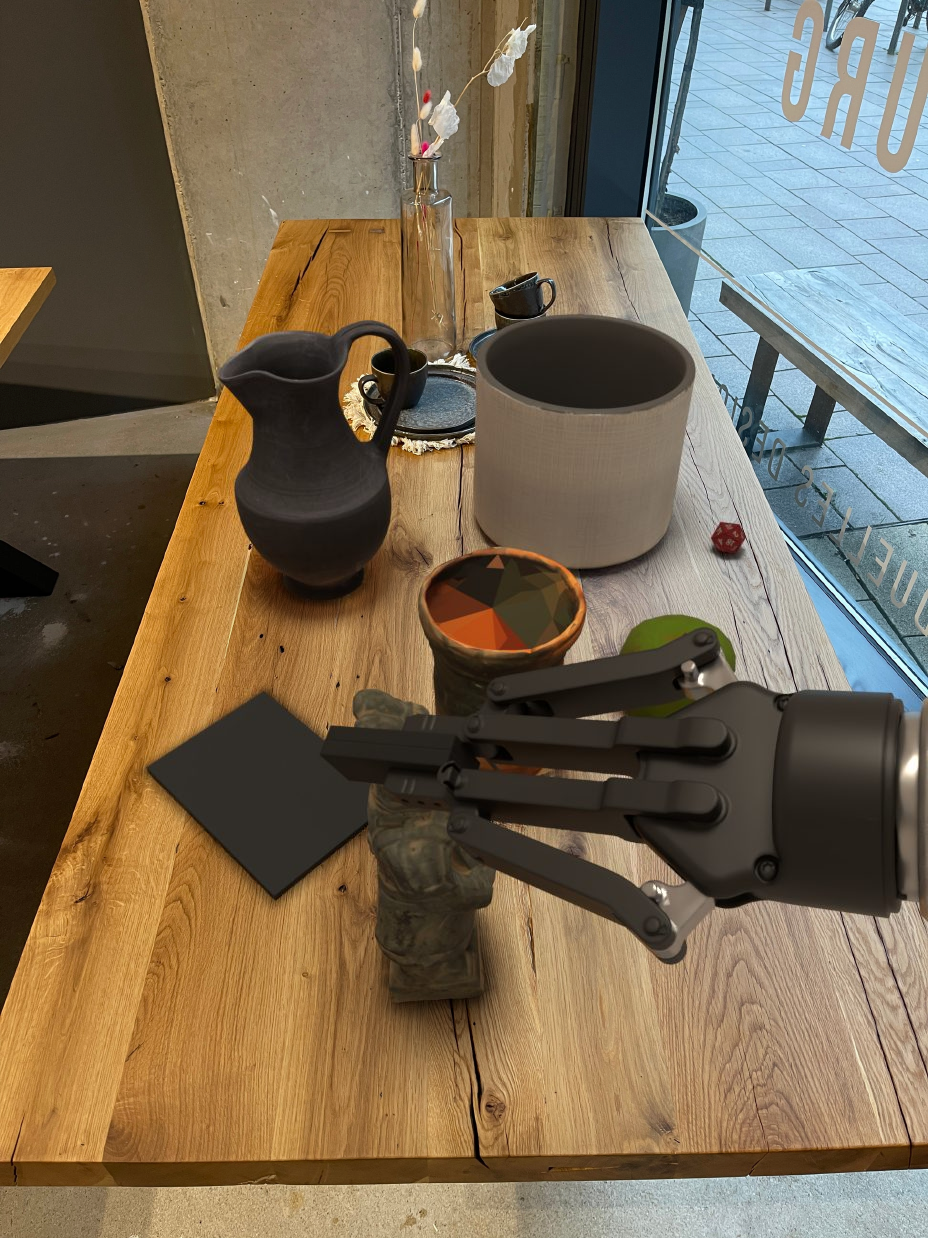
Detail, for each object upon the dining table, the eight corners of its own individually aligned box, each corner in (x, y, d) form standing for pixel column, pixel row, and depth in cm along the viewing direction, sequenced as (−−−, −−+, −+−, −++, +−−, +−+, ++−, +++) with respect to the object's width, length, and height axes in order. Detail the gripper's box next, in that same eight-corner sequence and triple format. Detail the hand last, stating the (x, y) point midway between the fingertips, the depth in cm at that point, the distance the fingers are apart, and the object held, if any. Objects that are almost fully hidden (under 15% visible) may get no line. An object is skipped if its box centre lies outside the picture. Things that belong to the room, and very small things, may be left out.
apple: (710, 671, 98) (730, 594, 91) (731, 749, 90) (755, 671, 83) (607, 670, 98) (618, 593, 91) (618, 748, 90) (632, 670, 83)
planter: (624, 453, 131) (644, 302, 116) (702, 559, 112) (738, 396, 98) (452, 478, 126) (450, 324, 111) (505, 593, 108) (511, 428, 93)
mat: (395, 802, 85) (395, 798, 85) (275, 899, 78) (274, 896, 77) (264, 694, 96) (264, 690, 95) (147, 771, 88) (145, 767, 88)
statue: (501, 1024, 70) (515, 779, 50) (378, 1027, 70) (343, 782, 50) (494, 894, 78) (504, 638, 58) (385, 896, 78) (357, 640, 58)
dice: (703, 541, 115) (709, 515, 112) (738, 540, 115) (745, 514, 113) (711, 560, 112) (717, 534, 110) (747, 559, 113) (754, 533, 110)
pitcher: (234, 556, 113) (185, 323, 93) (388, 511, 120) (374, 286, 100) (280, 641, 101) (235, 397, 81) (447, 586, 109) (444, 349, 89)
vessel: (581, 802, 85) (603, 647, 72) (429, 814, 84) (422, 659, 71) (556, 691, 96) (571, 538, 83) (420, 700, 95) (413, 546, 82)
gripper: (908, 1035, 30) (332, 919, 42) (919, 692, 37) (417, 673, 48) (896, 972, 25) (237, 859, 36) (911, 582, 31) (347, 590, 42)
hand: (340, 753), depth 42 cm, fingers closed
